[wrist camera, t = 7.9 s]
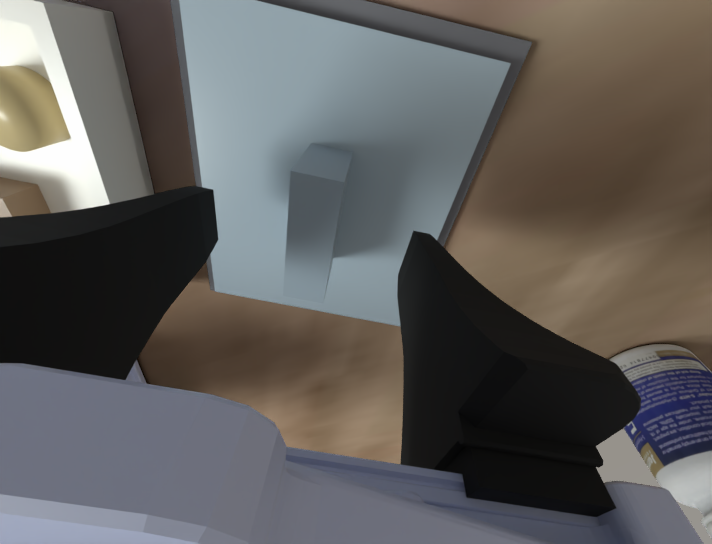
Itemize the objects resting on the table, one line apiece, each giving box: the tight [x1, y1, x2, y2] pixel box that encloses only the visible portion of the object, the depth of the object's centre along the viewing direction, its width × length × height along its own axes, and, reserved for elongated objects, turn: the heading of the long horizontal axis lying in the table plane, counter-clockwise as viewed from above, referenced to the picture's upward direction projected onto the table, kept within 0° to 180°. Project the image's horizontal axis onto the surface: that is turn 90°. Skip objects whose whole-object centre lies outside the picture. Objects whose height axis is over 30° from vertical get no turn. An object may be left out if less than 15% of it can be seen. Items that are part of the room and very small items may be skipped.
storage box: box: [0, 0, 154, 217], centre depth 12 cm, size 12×10×3 cm
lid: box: [179, 0, 511, 326], centre depth 12 cm, size 12×10×4 cm
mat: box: [170, 0, 532, 291], centre depth 13 cm, size 14×12×1 cm
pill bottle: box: [609, 344, 712, 539], centre depth 15 cm, size 5×5×9 cm
